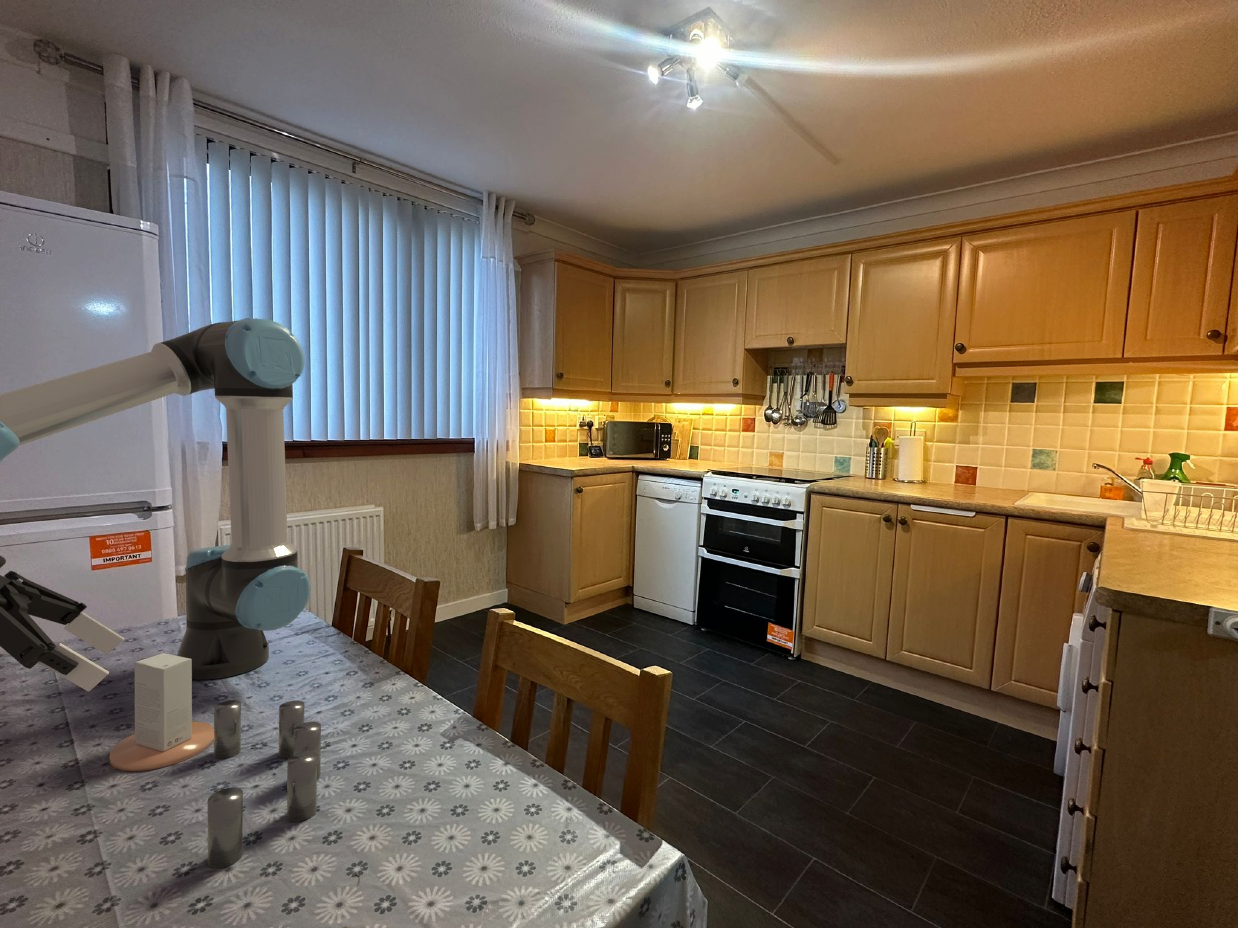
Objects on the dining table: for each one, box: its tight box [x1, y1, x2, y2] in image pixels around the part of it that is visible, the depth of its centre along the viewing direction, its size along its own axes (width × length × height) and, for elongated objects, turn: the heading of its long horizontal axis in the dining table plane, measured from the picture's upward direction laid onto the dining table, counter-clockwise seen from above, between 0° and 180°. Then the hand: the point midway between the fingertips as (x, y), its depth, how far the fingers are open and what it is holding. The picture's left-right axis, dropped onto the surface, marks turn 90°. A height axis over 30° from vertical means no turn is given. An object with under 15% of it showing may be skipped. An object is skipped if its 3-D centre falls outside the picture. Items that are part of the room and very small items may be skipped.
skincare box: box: [134, 652, 193, 752], centre depth 85 cm, size 6×4×12 cm
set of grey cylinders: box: [207, 699, 322, 870], centre depth 76 cm, size 21×24×7 cm
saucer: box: [109, 720, 214, 772], centre depth 86 cm, size 12×12×1 cm
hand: (108, 663), depth 81 cm, fingers open, 13 cm apart
